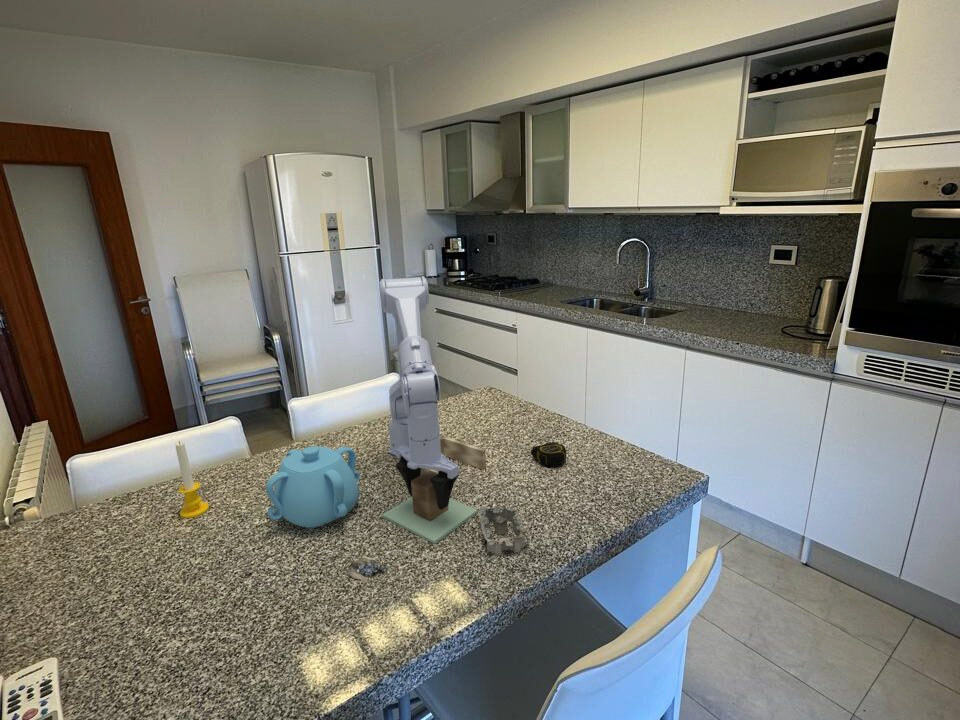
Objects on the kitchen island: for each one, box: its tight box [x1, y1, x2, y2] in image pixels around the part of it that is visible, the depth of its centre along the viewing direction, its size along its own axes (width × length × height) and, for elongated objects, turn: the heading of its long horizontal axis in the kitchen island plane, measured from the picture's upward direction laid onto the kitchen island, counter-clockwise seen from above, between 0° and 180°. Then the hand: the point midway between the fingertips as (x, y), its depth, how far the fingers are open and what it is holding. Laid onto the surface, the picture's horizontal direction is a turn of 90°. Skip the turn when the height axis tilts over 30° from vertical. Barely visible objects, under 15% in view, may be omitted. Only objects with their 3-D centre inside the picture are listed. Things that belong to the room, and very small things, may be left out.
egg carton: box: [479, 506, 526, 556], centre depth 90 cm, size 10×7×4 cm
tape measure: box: [530, 441, 567, 467], centre depth 117 cm, size 7×7×4 cm
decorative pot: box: [265, 445, 361, 530], centre depth 99 cm, size 16×16×14 cm
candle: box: [175, 440, 210, 519], centre depth 101 cm, size 5×5×16 cm
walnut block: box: [411, 471, 449, 521], centre depth 97 cm, size 4×5×7 cm
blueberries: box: [345, 554, 389, 582], centre depth 84 cm, size 7×8×2 cm
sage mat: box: [381, 496, 479, 545], centre depth 98 cm, size 14×12×1 cm
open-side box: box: [398, 435, 487, 478], centre depth 114 cm, size 13×14×4 cm
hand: (429, 500), depth 97 cm, fingers open, 7 cm apart
